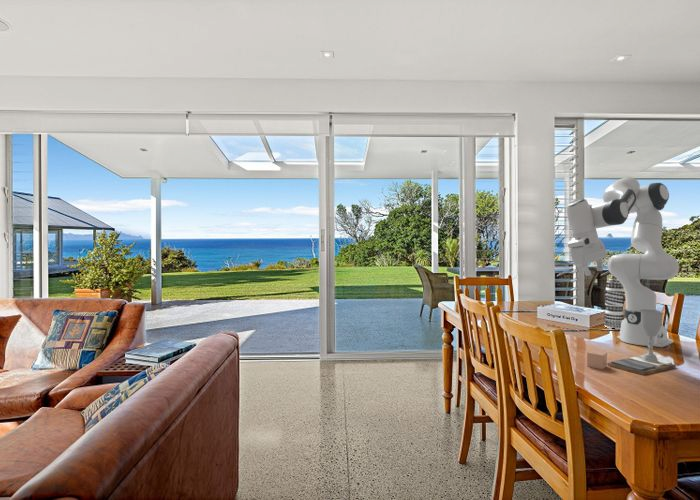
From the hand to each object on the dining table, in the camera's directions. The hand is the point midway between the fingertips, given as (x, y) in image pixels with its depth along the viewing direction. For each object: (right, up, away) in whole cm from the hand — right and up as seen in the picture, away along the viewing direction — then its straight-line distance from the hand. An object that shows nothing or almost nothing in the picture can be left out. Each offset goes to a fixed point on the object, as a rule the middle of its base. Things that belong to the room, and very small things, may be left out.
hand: (594, 273), depth 171 cm
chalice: (+10, -31, -17) cm, 37 cm away
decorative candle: (+37, -31, +47) cm, 67 cm away
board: (+6, -32, -19) cm, 38 cm away
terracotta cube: (-11, -32, -20) cm, 39 cm away
